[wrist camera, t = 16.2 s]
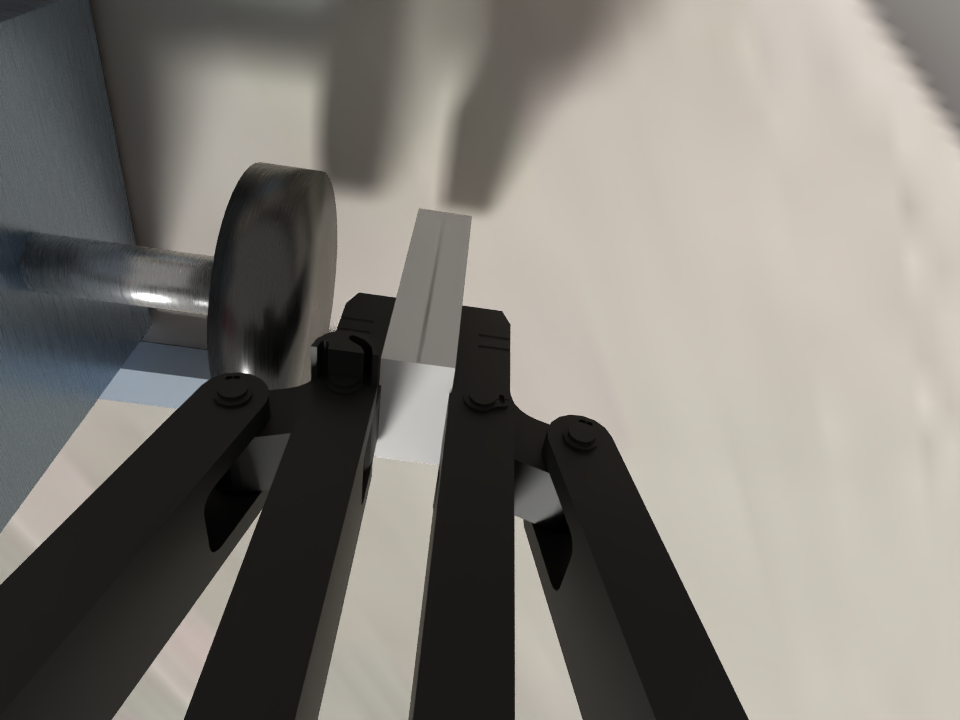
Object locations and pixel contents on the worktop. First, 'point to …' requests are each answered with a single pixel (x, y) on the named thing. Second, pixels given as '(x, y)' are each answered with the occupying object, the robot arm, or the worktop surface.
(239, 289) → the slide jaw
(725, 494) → the worktop surface
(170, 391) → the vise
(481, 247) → the worktop surface
